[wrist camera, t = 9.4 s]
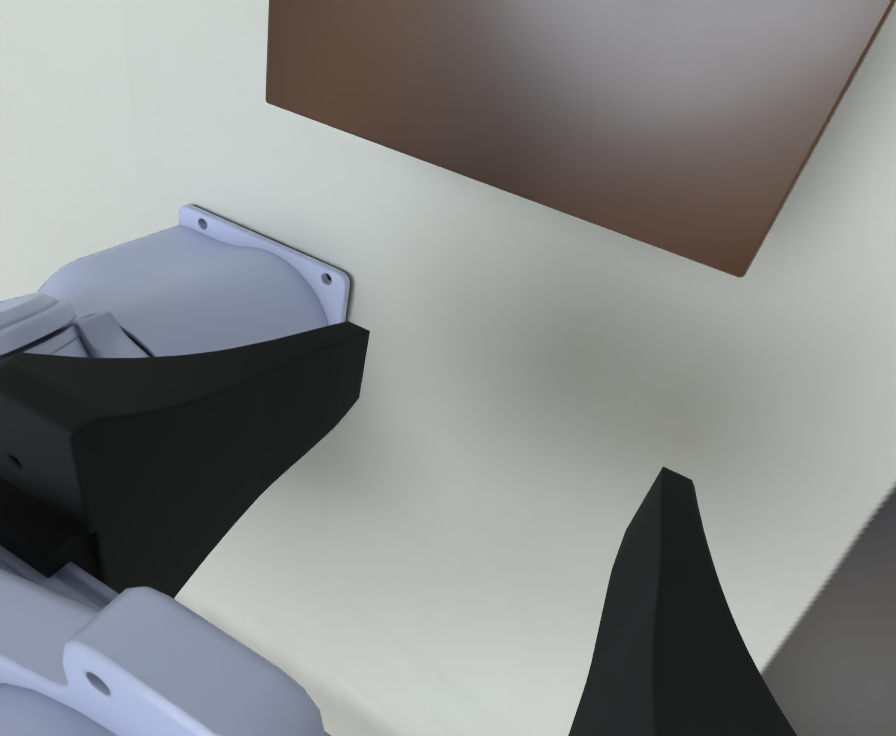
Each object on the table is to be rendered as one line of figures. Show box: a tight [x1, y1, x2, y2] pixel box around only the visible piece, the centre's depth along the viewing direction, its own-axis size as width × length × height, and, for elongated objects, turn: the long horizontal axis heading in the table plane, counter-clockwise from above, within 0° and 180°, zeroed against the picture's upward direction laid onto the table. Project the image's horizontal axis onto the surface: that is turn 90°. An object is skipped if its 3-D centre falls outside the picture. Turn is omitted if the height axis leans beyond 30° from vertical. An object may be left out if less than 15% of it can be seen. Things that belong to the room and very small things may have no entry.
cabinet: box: [266, 0, 896, 277], centre depth 15 cm, size 13×8×7 cm, turn 76°
